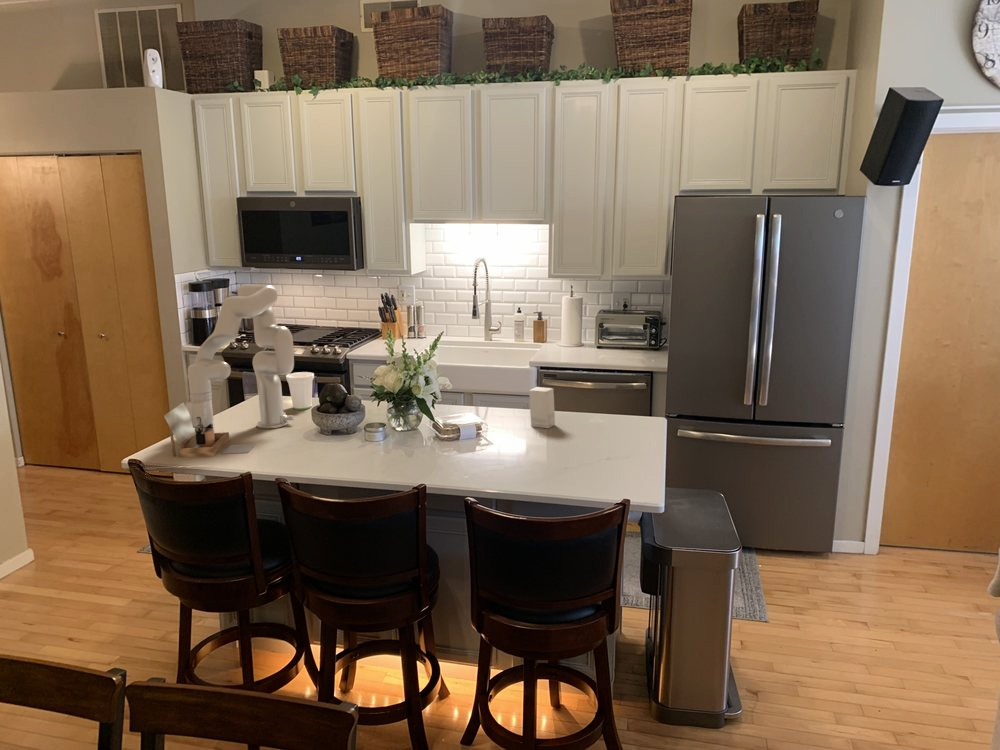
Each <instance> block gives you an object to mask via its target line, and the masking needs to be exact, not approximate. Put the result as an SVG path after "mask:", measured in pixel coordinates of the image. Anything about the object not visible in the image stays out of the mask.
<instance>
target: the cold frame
mask: <svg viewBox="0 0 1000 750" xmlns="http://www.w3.org/2000/svg"><path fill="white" fill-rule="evenodd" d="M163 417H164V419H165V421H166V423H167V425H168V427H169V435H170V442H171V443H170V445H171V452H172V457H176V456H177V454H176V447H175V440H176V442H177V444H178V446H180V448H179V455H180V458H194V457H195V458H197V457H214V456H215V455H216V454H217V453H219V451H221V449H222V448H223V447H224V446H225V445H226V444H227V443H228V442H229V441H230V432H225V431H223V432H215V433H214V436H215V444H214V445H213V446H212V447H201V448H199V446H198V445H197V443H196V434H195V428H193V426H192V418H191V416H190V414H189V412H188V410H187V407H186V403H185V402H182V403H180V404H178V405H177V406H175V407H174V408H173V409H171V410H170V411H168V413H166V414H164V415H163ZM174 438H175V439H174Z"/></svg>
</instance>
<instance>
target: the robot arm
mask: <svg viewBox="0 0 1000 750" xmlns="http://www.w3.org/2000/svg"><path fill="white" fill-rule="evenodd" d="M277 300H278V291H277V289H276V288H275V287H274V286H272V285H270V284H259V283H254V284H253V283H247V284H246V283H245V284H242V285H240V286H239V287H238V289H237V295H232V296H227V297H226V298H224V300H223V301H222V303H221V307H220V310H219V313H218V314H219V315H218V318H217V321H216V323H215V327H214V330H213V332H212V333H211V334H210V335H209V336H208V337H207V339H205V341H204V342H203V343H202V344H201V345H200V347H199V348H198V350H197V354H196V356H195V359H194V363H193V364H190V365H189V366H188V367H187V377H188V384H189V385H188V386H189V399H190V398H191V402H192V426H193V428H195V434H196V443H197V445H199V444H206V441H205V434H204V429H205V428H212V429H213V423H212V421H213V419H214V413H213V414H212V410H213V405H212V406H211V401H213V396H212V395H213V394H212V384H211V382H217V381H224V380H226V379H227V378H229V376H230V375H231V373H232V369H231V365H229V363H228V362H225V361H223V360H217V359H213V358H214V356H215V354H216V353H217V351H218V350H219V349H220V348H223V347H224V346H225V345H228V344H230V343H231V342H233V341H235V340H236V339H237V338H238V333H239V330H240V327H241V323H242V320H243V319H253V320H252V321H253V331H254V333H253V335H254V341H255V344H256V346H258V347H259V348H262V349H263V348H264V349H273V350H274V351H273V350H261V351H258V352H257V353H255V355H254V356H253V358H252V367H253V371H254V374H255V378H256V379H255V380H256V384H257V385H256V386H257V387H256V388H257V396H258V397H257V398H258V406H259V407H258V408H259V415H260V421H258V422H257V423H256V426H257V427H258V428H260V429H278V428H281V427H285V426H286V425H289V421H295V416H294V415H292V414H289V415H288V414H287V413H286V411H284V402H283V391H282V383H281V381H282V380H281V379H280V377H279V376H286V375H288V374H291V373H292V372H293V370H294V368H295V359H294V358H295V357H294V355H295V353H294V341H293V340H294V339H293V335H292V332H291V331H290V329H289V328H288V327H286V326H284V325H283V326H282V325H277V324H276V319H275V312H274V309H273V306H274V304H275V303H276V302H277ZM201 429H202V431H201Z"/></svg>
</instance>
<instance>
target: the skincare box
mask: <svg viewBox="0 0 1000 750" xmlns="http://www.w3.org/2000/svg"><path fill="white" fill-rule="evenodd" d="M528 391H529V393H528V394H529V412H530V413H529V414H530V427H533V428H540V429H550V428H551V427H554V426H555V425H556V419H555V416H556V414H555V412H556V411H555V394H554V392H555V391H554V388H552V387H544V386H543V387H540V386H536V387H534V388H531V389H529V390H528Z"/></svg>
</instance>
